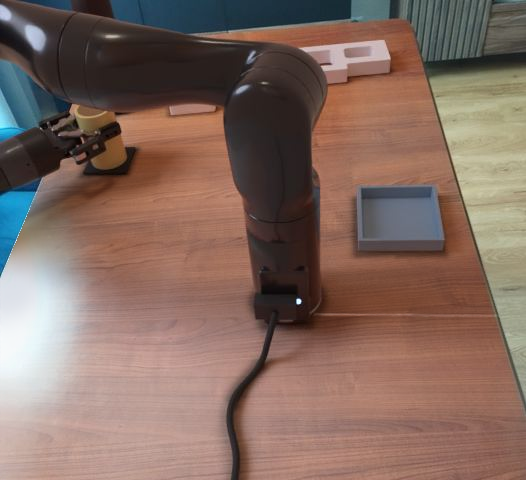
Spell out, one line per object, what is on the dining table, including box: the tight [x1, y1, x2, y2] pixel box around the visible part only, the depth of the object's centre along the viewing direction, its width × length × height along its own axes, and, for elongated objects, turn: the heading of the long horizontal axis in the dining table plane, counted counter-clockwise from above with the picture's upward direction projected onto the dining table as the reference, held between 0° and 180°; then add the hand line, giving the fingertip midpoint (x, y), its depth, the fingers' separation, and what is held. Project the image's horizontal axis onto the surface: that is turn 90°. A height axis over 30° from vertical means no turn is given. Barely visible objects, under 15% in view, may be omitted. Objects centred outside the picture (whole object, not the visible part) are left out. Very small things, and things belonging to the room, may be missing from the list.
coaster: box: [82, 146, 137, 176], centre depth 108 cm, size 8×8×1 cm
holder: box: [168, 39, 392, 116], centre depth 120 cm, size 45×18×3 cm, turn 91°
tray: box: [356, 183, 446, 252], centre depth 89 cm, size 13×12×3 cm
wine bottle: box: [69, 0, 122, 115], centre depth 109 cm, size 7×7×30 cm
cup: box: [73, 105, 127, 170], centre depth 104 cm, size 7×7×10 cm
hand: (108, 119), depth 103 cm, fingers closed on cup, 6 cm apart
